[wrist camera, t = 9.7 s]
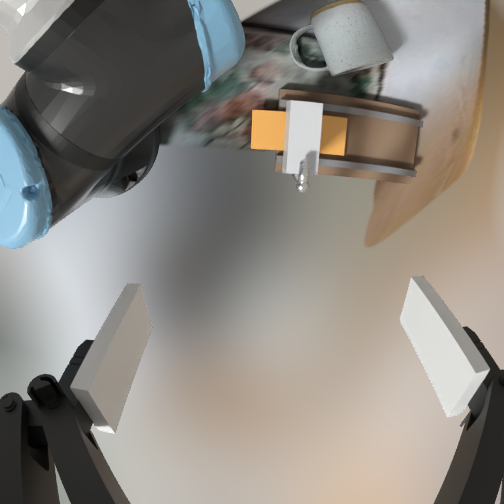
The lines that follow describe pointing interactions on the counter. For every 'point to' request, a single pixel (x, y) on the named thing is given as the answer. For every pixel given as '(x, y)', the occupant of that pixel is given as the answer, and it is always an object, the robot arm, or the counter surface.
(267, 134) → the white block on base
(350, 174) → the brown piece
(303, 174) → the keeper hook
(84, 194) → the robot arm
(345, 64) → the ceramic mug
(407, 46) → the counter surface
